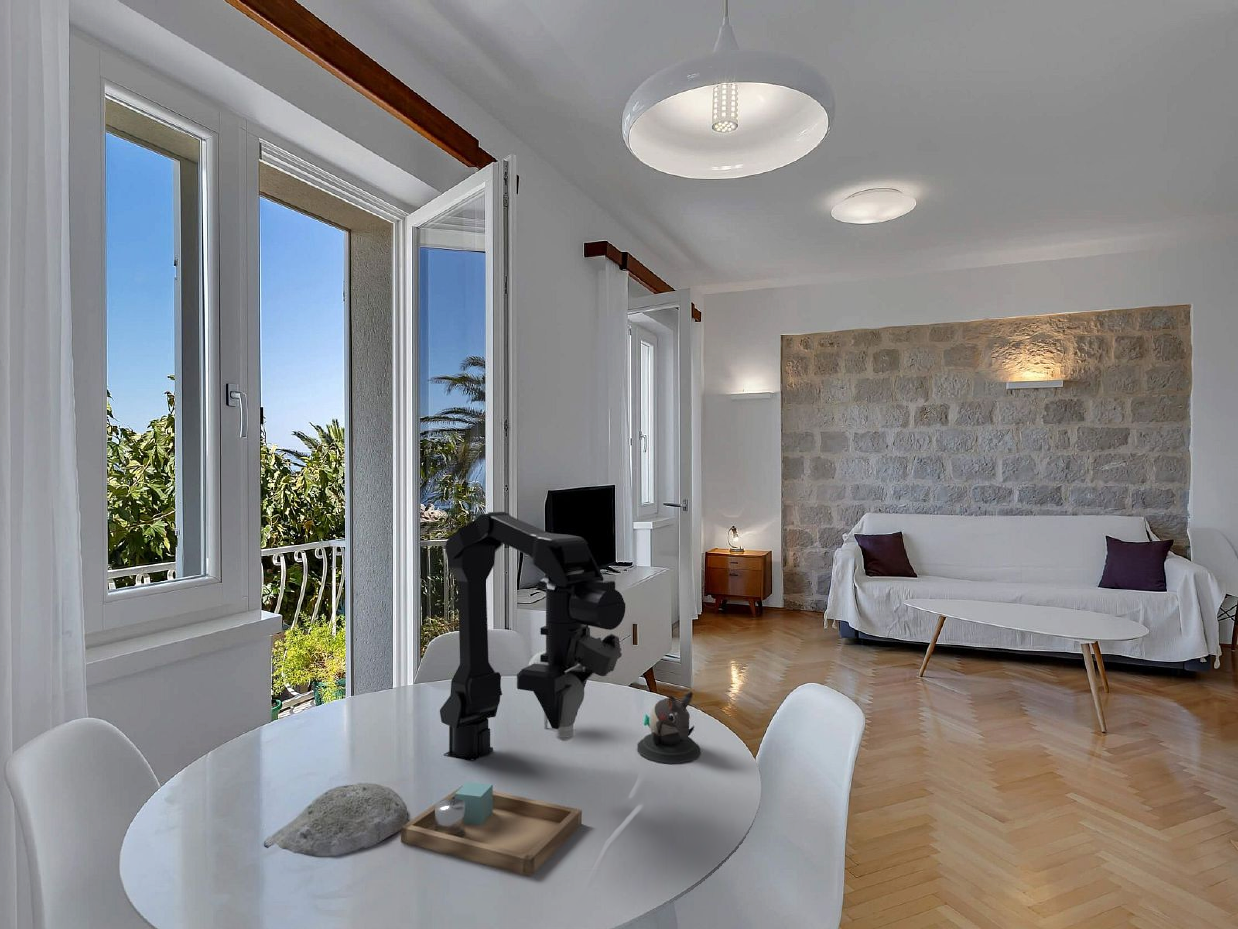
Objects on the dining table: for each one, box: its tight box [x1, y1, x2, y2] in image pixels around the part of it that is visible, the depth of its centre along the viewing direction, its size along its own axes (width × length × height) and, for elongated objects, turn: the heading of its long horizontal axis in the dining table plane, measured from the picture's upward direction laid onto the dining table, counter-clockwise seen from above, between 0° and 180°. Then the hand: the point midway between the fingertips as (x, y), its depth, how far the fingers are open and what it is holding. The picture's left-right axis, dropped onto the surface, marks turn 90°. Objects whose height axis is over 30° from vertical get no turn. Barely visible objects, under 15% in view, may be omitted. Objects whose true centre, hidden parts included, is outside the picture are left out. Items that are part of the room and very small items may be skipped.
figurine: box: [636, 691, 702, 765], centre depth 125 cm, size 11×12×12 cm
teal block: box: [455, 781, 494, 825], centre depth 100 cm, size 4×4×4 cm
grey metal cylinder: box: [435, 799, 465, 838], centre depth 95 cm, size 4×4×4 cm
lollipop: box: [527, 650, 549, 730], centre depth 137 cm, size 7×7×15 cm
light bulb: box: [555, 673, 585, 742], centre depth 106 cm, size 6×6×10 cm
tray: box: [400, 786, 583, 877], centre depth 95 cm, size 20×14×2 cm
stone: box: [263, 782, 411, 857], centre depth 98 cm, size 18×8×15 cm
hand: (564, 722), depth 106 cm, fingers closed on light bulb, 5 cm apart
